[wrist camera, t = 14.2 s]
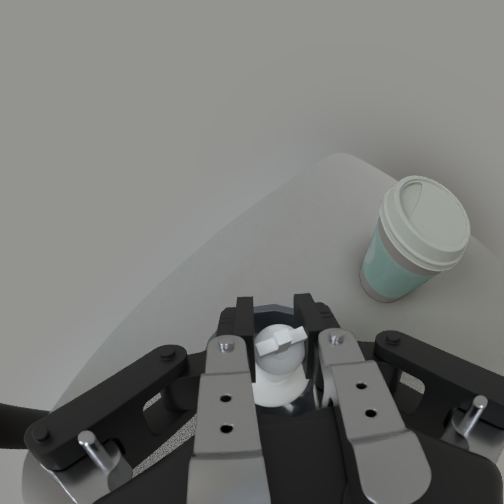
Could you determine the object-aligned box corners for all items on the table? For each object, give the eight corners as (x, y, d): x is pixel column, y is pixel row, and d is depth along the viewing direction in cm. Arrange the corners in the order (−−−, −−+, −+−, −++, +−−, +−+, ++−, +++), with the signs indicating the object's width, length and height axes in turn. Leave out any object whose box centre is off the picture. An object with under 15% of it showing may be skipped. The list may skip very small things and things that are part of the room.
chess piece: (321, 389, 16) (382, 372, 7) (249, 417, 15) (233, 437, 7) (292, 324, 18) (319, 247, 10) (224, 349, 18) (185, 293, 9)
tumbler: (222, 431, 21) (208, 442, 15) (212, 335, 25) (197, 312, 19) (326, 416, 21) (349, 420, 15) (309, 322, 26) (324, 296, 20)
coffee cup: (391, 236, 30) (433, 164, 20) (427, 296, 26) (489, 238, 16) (334, 258, 29) (366, 180, 19) (370, 328, 25) (432, 275, 15)
